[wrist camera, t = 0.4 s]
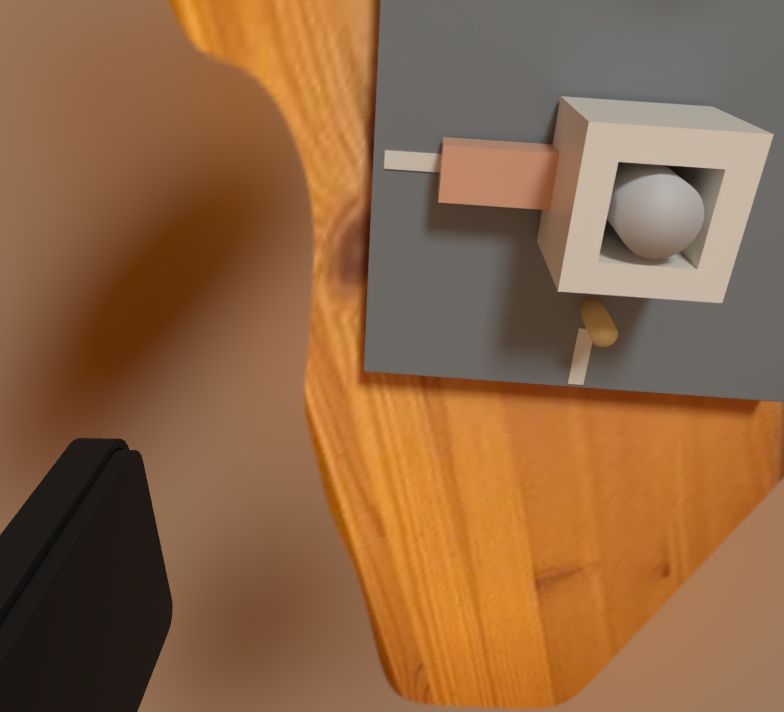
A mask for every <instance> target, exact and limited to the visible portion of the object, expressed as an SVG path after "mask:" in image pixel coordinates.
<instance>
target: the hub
mask: <svg viewBox="0 0 784 712" xmlns="http://www.w3.org/2000/svg"><path fill="white" fill-rule="evenodd" d="M773 135H774V134H772V133H770V132H768V131H765V130H763V129H761V128H759V127H757V126H754V125H752V124H750V123H748V122H746V121H743V120H741V119H739V118H737V117H735V116H732V115H730V114H728V113H726V112H723V111H721V110H719V109H717V108H715V107H712V106H698V105H683V104H668V103H654V102H639V101H624V100H609V99H595V98H580V97H565V96H560V102H559V109H558V115H557V121H556V127H555V133H554V139H553V144H538V143H524V142H509V141H495V140H480V139H466V138H451V137H443V139H442V150H441V161H440V172H439V184H438V202H439V203H453V204H468V205H482V206H496V207H510V208H525V209H539V210H542V213H541V219H540V226H539V232H538V238H537V242H538V245H539V247H540V250H541V252H542V254H543V257H544V259H545V262H546V264H547V267H548V269H549V271H550V274H551V276H552V279H553V281H554V284H555V286H556V288H557V291H558V292H572V293H586V294H600V295H614V296H628V297H642V298H656V299H670V300H684V301H698V302H712V303H722V302H723V299H724V296H725V293H726V289H727V286H728V283H729V279H730V276H731V273H732V270H733V266H734V263H735V260H736V256H737V253H738V250H739V247H740V243H741V240H742V237H743V234H744V230H745V227H746V224H747V220H748V217H749V214H750V211H751V207H752V204H753V201H754V197H755V194H756V191H757V188H758V184H759V181H760V178H761V175H762V171H763V168H764V165H765V161H766V158H767V155H768V152H769V148H770V145H771V142H772V138H773ZM618 162H626V163H640V164H655V165H667V167H668V168H669V169H671V170H672V171H673V172H674V173H676V174H677V175H678V176H679V177H681V178H682V179H683V180H684V181H686V182H687V183H688V184H689V185H691V186H692V187H693V188H694V189H695V190H696V191H697V192H698V193H699V195H700V197H701V199H702V201H703V205H704V220H703V224H702V227H701V229H700V232H699V233H698V235H697V237H696V238H695V239H694V240H693V242H692V243H691V244H690V245H689V246H688V247H686V248H685V249H684V250H682V251H681V252H679V253H677V254H675V255H673V256H670V257H666V258H661V259H649V258H644V257H641V256H639V255H637V254H635V253H633V252H632V251H631V250H630V249H629V248H628V247H627V246H626V245H625V243H624V242H623V241H622V239H621V238H620V236H619V235H618V234H617V232H616V231H615V230H614V228H613V227H612V226H611V224H610V223H609V222H608V220H607V215H608V210H609V205H610V201H611V196H612V191H613V186H614V181H615V176H616V172H617V167H618Z"/></svg>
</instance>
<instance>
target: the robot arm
mask: <svg viewBox="0 0 784 712" xmlns="http://www.w3.org/2000/svg"><path fill="white" fill-rule="evenodd" d="M171 620H172V598H171V594H170V588H169V584H168V579H167V574H166V569H165V564H164V559H163V555H162V550H161V545H160V540H159V536H158V531H157V527H156V521H155V516H154V512H153V507H152V502H151V497H150V492H149V488H148V483H147V478H146V473H145V469H144V464H143V459H142V456H141V454H140V453H139V452H138V451H136V450H129V448H128V445H127V444H126V442H125V441H124V440H122V439H100V438H97V439H95V438H78V439H75V440H74V441H73V442H71V444H69V446H68V447H67V449H66V450H65V451H64V452H63V454H62V455H61V456H60V458H59V459H58V460H57V462H56V463H55V464H54V465H53V467H52V468H51V469H50V471H49V472H48V474H47V475H46V476H45V477H44V478H43V480H42V481H41V483H40V484H39V485H38V486H37V488H36V489H35V490H34V492H33V493H32V494H31V496H30V497H29V498H28V500H27V501H26V502H25V503H24V505H23V506H22V508H21V509H20V510H19V511H18V513H17V514H16V515H15V517H14V518H13V519H12V520H11V522H10V523H9V524H8V526H7V527H6V528H5V530H4V531H3V532H2V533H1V535H0V712H137V711H138V708H139V706H140V703H141V701H142V698H143V696H144V693H145V690H146V688H147V685H148V682H149V680H150V678H151V675H152V672H153V670H154V667H155V665H156V662H157V660H158V657H159V655H160V652H161V649H162V647H163V644H164V642H165V639H166V637H167V634H168V631H169V628H170V625H171Z"/></svg>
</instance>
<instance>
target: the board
mask: <svg viewBox="0 0 784 712" xmlns="http://www.w3.org/2000/svg"><path fill="white" fill-rule="evenodd" d="M560 96H565V97H580V98H595V99H609V100H624V101H639V102H654V103H668V104H683V105H698V106H712V107H715V108H717V109H719V110H721V111H723V112H726V113H728V114H730V115H732V116H735V117H737V118H739V119H741V120H743V121H746V122H748V123H750V124H752V125H754V126H757V127H759V128H761V129H763V130H765V131H768V132H770V133H772V134H774V135H773V138H772V142H771V145H770V148H769V152H768V155H767V158H766V161H765V165H764V168H763V171H762V175H761V178H760V181H759V184H758V188H757V191H756V194H755V197H754V201H753V204H752V207H751V211H750V214H749V217H748V220H747V224H746V227H745V230H744V234H743V237H742V240H741V243H740V247H739V250H738V253H737V256H736V260H735V263H734V266H733V270H732V273H731V276H730V279H729V283H728V286H727V289H726V293H725V296H724V299H723V302H722V303H712V302H698V301H684V300H670V299H656V298H642V297H628V296H614V295H600V294H586V293H572V292H558V291H557V288H556V286H555V284H554V281H553V279H552V276H551V274H550V271H549V269H548V267H547V264H546V262H545V259H544V257H543V254H542V252H541V250H540V247H539V245H538V242H537V238H538V232H539V226H540V219H541V213H542V210H539V209H525V208H510V207H496V206H482V205H468V204H453V203H439V202H438V184H439V172H440V161H441V150H442V139H443V137H451V138H466V139H480V140H495V141H509V142H524V143H538V144H553V139H554V133H555V127H556V121H557V115H558V109H559V102H560ZM607 220H608V222H609V223H610V224H611V226H612V227H613V228H614V230H615V231H616V232H617V234H618V235H619V236H620V238H621V239H622V241H623V242H624V243H625V245H626V246H627V247H628V248H629V249H630V250H631V251H632V252H633V253H635V254H637V255H639V256H641V257H644V258H649V259H661V258H666V257H670V256H673V255H675V254H677V253H679V252H681V251H682V250H684V249H685V248H686V247H688V246H689V245H690V244H691V243H692V242H693V240H694V239H695V238H696V237H697V235H698V233H699V232H700V229H701V227H702V224H703V220H704V205H703V201H702V199H701V197H700V195H699V193H698V192H697V191H696V190H695V189H694V188H693V187H692V186H691V185H689V184H688V183H687V182H686V181H684V180H683V179H682V178H681V177H679V176H678V175H677V174H676V173H674V172H673V171H672V170H671V169H669V168H668V167H667V165H655V164H640V163H626V162H618V167H617V172H616V176H615V181H614V186H613V191H612V196H611V201H610V205H609V210H608V215H607ZM364 371H366V372H379V373H393V374H407V375H420V376H434V377H448V378H461V379H475V380H489V381H502V382H516V383H530V384H543V385H557V386H571V387H584V388H598V389H612V390H625V391H639V392H653V393H666V394H680V395H694V396H707V397H721V398H735V399H748V400H762V401H776V402H784V0H381V1H380V23H379V45H378V67H377V89H376V111H375V133H374V156H373V178H372V200H371V222H370V244H369V266H368V288H367V311H366V333H365V355H364Z"/></svg>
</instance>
